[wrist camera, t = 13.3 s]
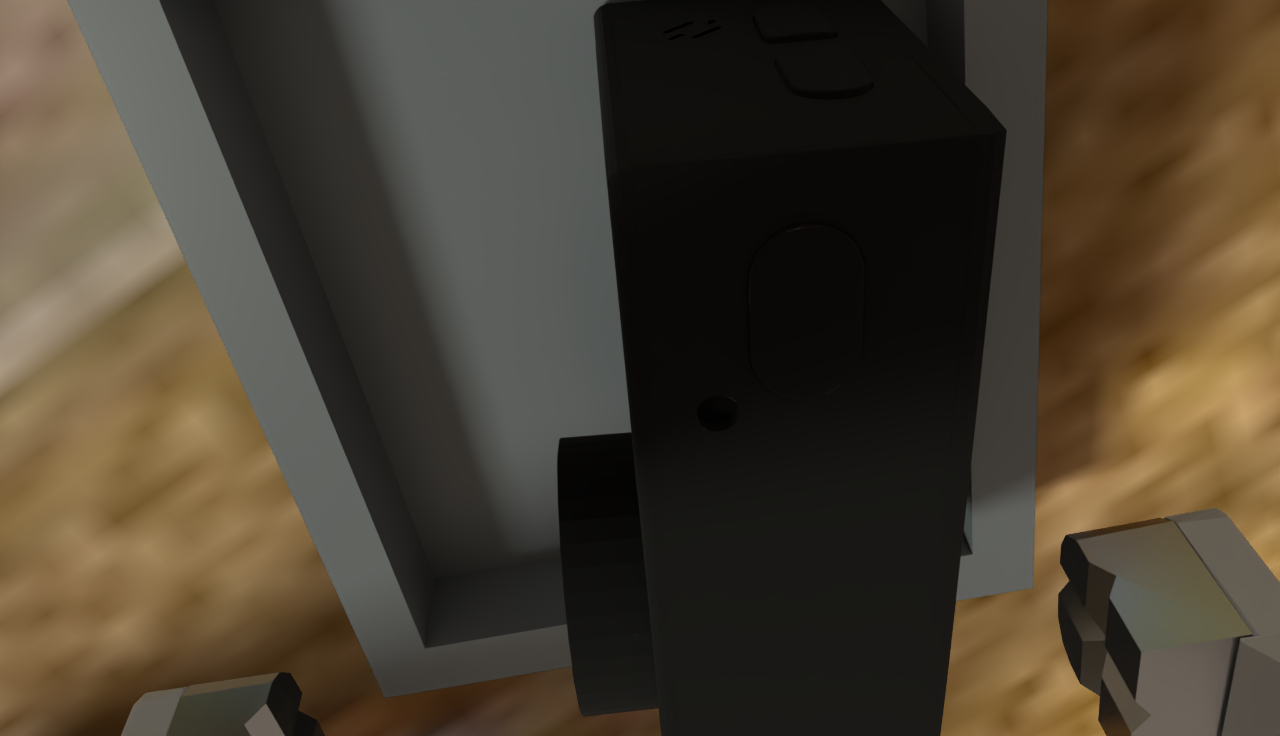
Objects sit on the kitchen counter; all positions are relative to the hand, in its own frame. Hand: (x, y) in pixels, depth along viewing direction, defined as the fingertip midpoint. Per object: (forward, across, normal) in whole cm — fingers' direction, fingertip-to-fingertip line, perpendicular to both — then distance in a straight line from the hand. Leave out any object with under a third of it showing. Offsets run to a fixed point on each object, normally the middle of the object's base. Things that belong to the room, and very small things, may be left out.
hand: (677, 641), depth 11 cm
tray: (+10, 0, +1) cm, 10 cm away
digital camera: (+10, -1, +1) cm, 10 cm away
